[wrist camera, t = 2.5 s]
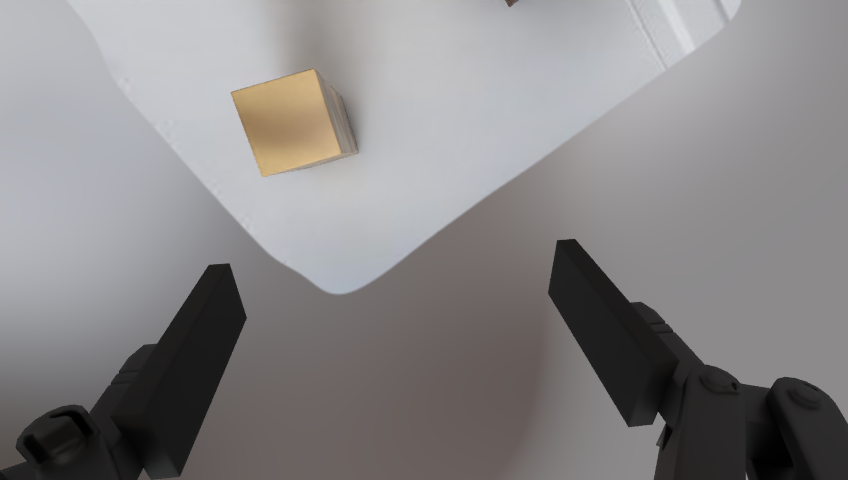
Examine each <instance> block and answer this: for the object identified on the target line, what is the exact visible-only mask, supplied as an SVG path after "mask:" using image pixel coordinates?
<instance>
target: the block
mask: <svg viewBox="0 0 848 480" xmlns="http://www.w3.org/2000/svg"><path fill="white" fill-rule="evenodd" d="M231 95H232V98H233V101H234V103H235V106H236V109H237V111H238V114H239V117H240V119H241V122H242V125H243V127H244V130H245V133H246V135H247V138H248V141H249V143H250V146H251V149H252V151H253V154H254V157H255V159H256V162H257V165H258V167H259V170H260V173H261V175H262V177H266V176H271V175H276V174H281V173H286V172H291V171H296V170H301V169H306V168H310V167H313V166H317V165H320V164H323V163H327V162H330V161H334V160H337V159H341V158H344V157H348V156H351V155H354V154H358V149H357V146H356V143H355V140H354V137H353V134H352V130H351V127H350V124H349V121H348V118H347V114H346V111H345V108H344V105H343V102H342V99H341V96H340V95H339V94H338V93H337V92H336V91H335V90H334V89H333V88H332V87H331V86H330V85H329V84H328V83H327V81H326V80H325V79H324V78H323V77H322V76H321V75H320V74H319V73H318V72H317V71H316V70H315V69H314V68H313V69H310V70H306V71H303V72H299V73H296V74H292V75H289V76H285V77H282V78H278V79H275V80H271V81H268V82H264V83H261V84H257V85H254V86H250V87H247V88H243V89H240V90H236V91H233V92H231Z"/></svg>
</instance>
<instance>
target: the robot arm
mask: <svg viewBox="0 0 848 480" xmlns="http://www.w3.org/2000/svg"><path fill="white" fill-rule="evenodd" d="M548 294H549V296H550V297H551V299H552V301H553V302H554V304H555V306H556V307H557V309H558V311H559V312H560V314H561V316H562V317H563V319H564V321H565V322H566V324H567V325H568V327H569V329H570V330H571V332H572V334H573V336H574V337H575V339H576V341H577V342H578V344H579V346H580V347H581V349H582V351H583V352H584V354H585V356H586V357H587V358H588V361H589V362H590V364H591V365H592V367H593V369H594V370H595V372H596V374H597V375H598V377H599V379H600V380H601V382H602V384H603V385H604V387H605V389H606V390H607V392H608V394H609V395H610V397H611V398H612V400H613V402H614V404H615V405H616V407H617V409H618V410H619V412H620V414H621V415H622V417H623V419H624V420H625V422H626V424H627V425H628V427H634V426H643V425H652V424H653V422H654V420H655V417H656V415H657V413H658V412H659V413H660V415H661V416H662V417H663V419H664V420H665V422H666V424H665V426H664V428H663V431H662V433H661V435H660V437H659V439H658V442H657V444H656V445H657V446H659V447H660V448H659V454H658V459H657V465H656V470H655V476H654V480H746V473H747V476H748V480H848V424H847V422H846V420H845V418H844V417H843V415H842V413H841V412H840V410H839V408H838V407H837V405H836V403H835V402H834V401H833V400H832V399H831V398H830V396H829V395H827V394H826V393H825V392H823V391H822V390H821V389H819V388H818V387H816V386H814V385H812V384H810V383H808V382H806V381H802V380H799V379H796V378H789V377H783V378H779V379H777V380H776V381H775V382H774V384H773V386H772V387H771V389H770V388H764V387H758V386H751V385H746V384H741V383H739V381H738V380H737V379H736V378H735V377H733V376H732V375H731V374H729V373H728V372H726V371H724V370H722V369H719V368H717V367H714V366H710V365H704V363H703V362H702V361H701V360H700V359H699V358H698V357H697V356H696V355H695V353H694V352H693V351H692V350H691V349H690V348H689V347H688V346H687V345H686V344H685V343H684V342H683V341H682V339H681V338H680V337H679V336H678V335H677V334H676V333H674V332H673V330H672V329H671V327H670V326H669V325H668V324H665V321H664V320H663V319H662V318H661V317H660V316H659V314H658V313H657V312H655V310H653V309H651V308H650V307H648V306H647V305H645V304H644V303H642V302H633V303H630V302H629V301H628V300H627V299H626V298H625V296H624V295H623V294H622V293H621V292H620V291H619V290H618V288H617V287H616V286H615V285H614V284H613V282H611V280H610V279H609V278H608V277H607V276H606V274H605V273H604V272H603V271H602V270H601V269H600V267H598V265H597V264H596V263H595V262H594V260H593V259H592V258H591V257H590V256H589V255H588V254H587V252H586V251H585V250H584V249H583V248H582V247H581V246H580V244H579V243H578V242H577V241H576V240H575V239H569V240H557V244H556V251H555V256H554V262H553V267H552V274H551V279H550V285H549V291H548ZM246 319H247V317H246V314H245V311H244V308H243V305H242V301H241V298H240V295H239V292H238V289H237V286H236V283H235V279H234V276H233V273H232V270H231V267H230V264H214V265H209V266H208V267H207V269H206V270H205V272H204V273H203V275H202V276H201V278H200V279H199V281H198V283H197V284H196V285H195V287H194V289H193V290H192V292H191V293H190V295H189V296H188V298H187V299H186V301H185V302H184V304H183V305H182V307H181V308H180V310H179V311H178V313H177V314H176V316H175V318H174V319H173V321H172V322H171V323H170V325H169V327H168V328H167V330H166V331H165V333H164V334H163V336H162V337H161V339H160V340H159V342H158V343H157V344H148V345H143V346H142V347H141V348H140V349H139V350H137V351H136V352H135V353H134V354H132V355H131V356H130V357H129V358H128V359H127V361H126V362H125V364H124V365H123V366H122V368H121V369H120V371H119V374H117V375H116V376H115V378H114V379H113V381H112V382H111V385H109V386H108V387H107V389H106V390H105V392H104V393H103V394H102V396H101V397H100V399H99V400H98V401H97V403H96V404H95V406H94V407H93V408H92V410H91V411H90V413H88V412H87V411H86V410H85V408H83V406H79V405H68V406H62V407H59V408H57V409H55V410H52V411H50V412H47V413H46V414H44V415H43V416H41V417H39V418H37V419H36V420H35V421H33V422H32V423H31V424H30V425H29V426H28V427H27V428H25V430H24V431H23V432H22V434H21V435H20V436H19V438H18V439H17V444H16V449H17V450H18V451H19V452H20V454H21V455H22V456H23V457H24V458H25V459H26V460H27V461H26V462H23V463H21V464H18V465H15V466H12V467H9V468H6V469H3V470H0V480H137V479H138V477H139V475H140V473H141V471H142V469H143V468H144V469H145V471H146V473H147V474H148V476H149V477H150V479H151V480H153V479H162V478H171V477H180V475H181V473H182V470H183V468H184V466H185V463H186V461H187V458H188V456H189V454H190V451H191V449H192V447H193V444H194V442H195V440H196V437H197V435H198V432H199V430H200V428H201V425H202V423H203V420H204V418H205V416H206V413H207V411H208V409H209V406H210V404H211V402H212V399H213V397H214V394H215V392H216V390H217V387H218V385H219V383H220V380H221V378H222V375H223V373H224V371H225V368H226V366H227V364H228V361H229V359H230V356H231V354H232V352H233V349H234V347H235V344H236V342H237V340H238V338H239V335H240V333H241V330H242V328H243V326H244V323H245V321H246Z"/></svg>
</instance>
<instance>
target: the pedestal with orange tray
mask: <svg viewBox="0 0 848 480" xmlns="http://www.w3.org/2000/svg"><path fill="white" fill-rule="evenodd" d="M505 1H506V2H507V4H508V6H509V7H511V6H512V5H513V4H514V3H516V2H517V1H518V0H505Z"/></svg>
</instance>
